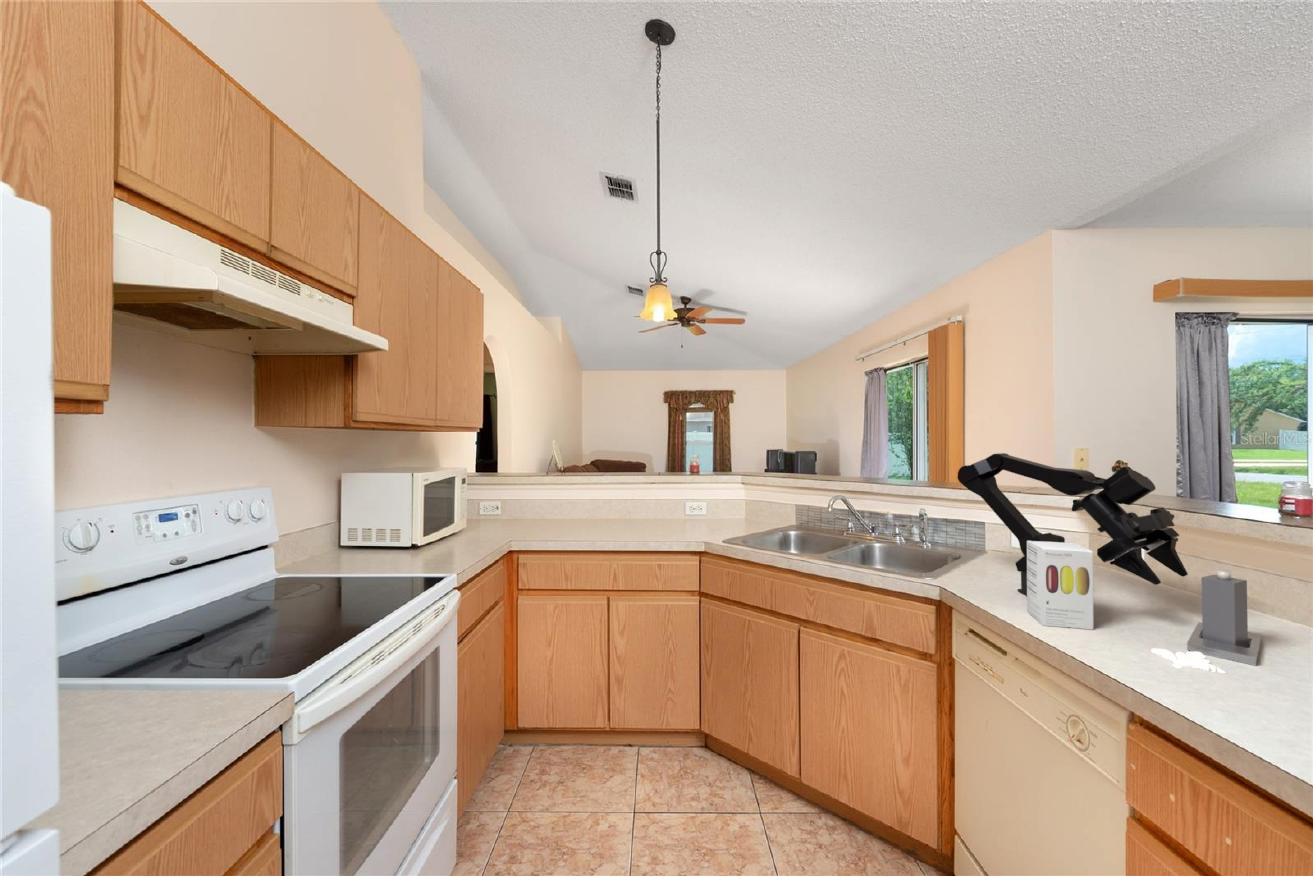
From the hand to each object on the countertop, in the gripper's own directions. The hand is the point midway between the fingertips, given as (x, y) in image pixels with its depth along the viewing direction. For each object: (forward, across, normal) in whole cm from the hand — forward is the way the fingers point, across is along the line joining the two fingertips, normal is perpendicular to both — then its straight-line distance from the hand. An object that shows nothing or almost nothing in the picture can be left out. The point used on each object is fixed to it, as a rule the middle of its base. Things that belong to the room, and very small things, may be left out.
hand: (1172, 579), depth 106 cm
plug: (+13, -2, +1) cm, 13 cm away
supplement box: (-1, -16, +16) cm, 23 cm away
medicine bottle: (-14, +18, +35) cm, 42 cm away
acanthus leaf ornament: (+14, -17, -1) cm, 22 cm away
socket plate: (+13, -2, +1) cm, 13 cm away
